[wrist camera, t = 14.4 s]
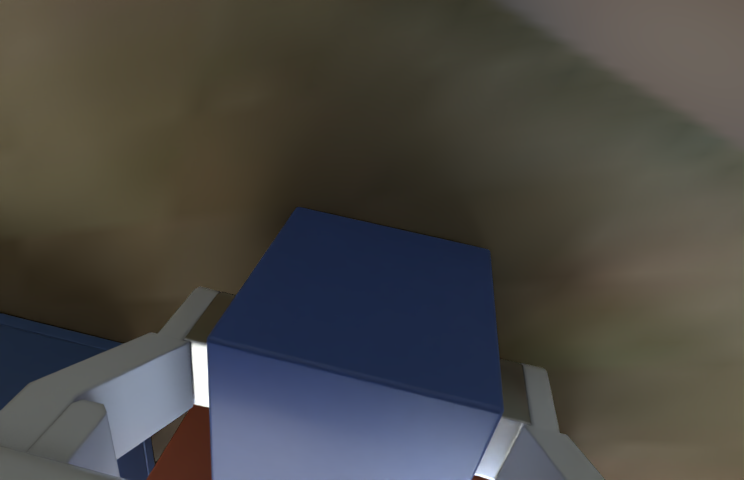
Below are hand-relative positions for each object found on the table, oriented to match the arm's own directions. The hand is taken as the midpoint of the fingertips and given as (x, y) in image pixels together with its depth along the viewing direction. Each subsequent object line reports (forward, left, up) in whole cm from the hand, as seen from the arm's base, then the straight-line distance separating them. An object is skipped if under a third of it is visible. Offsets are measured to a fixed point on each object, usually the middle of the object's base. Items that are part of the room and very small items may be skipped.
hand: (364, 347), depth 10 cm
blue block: (0, 0, -2) cm, 2 cm away
